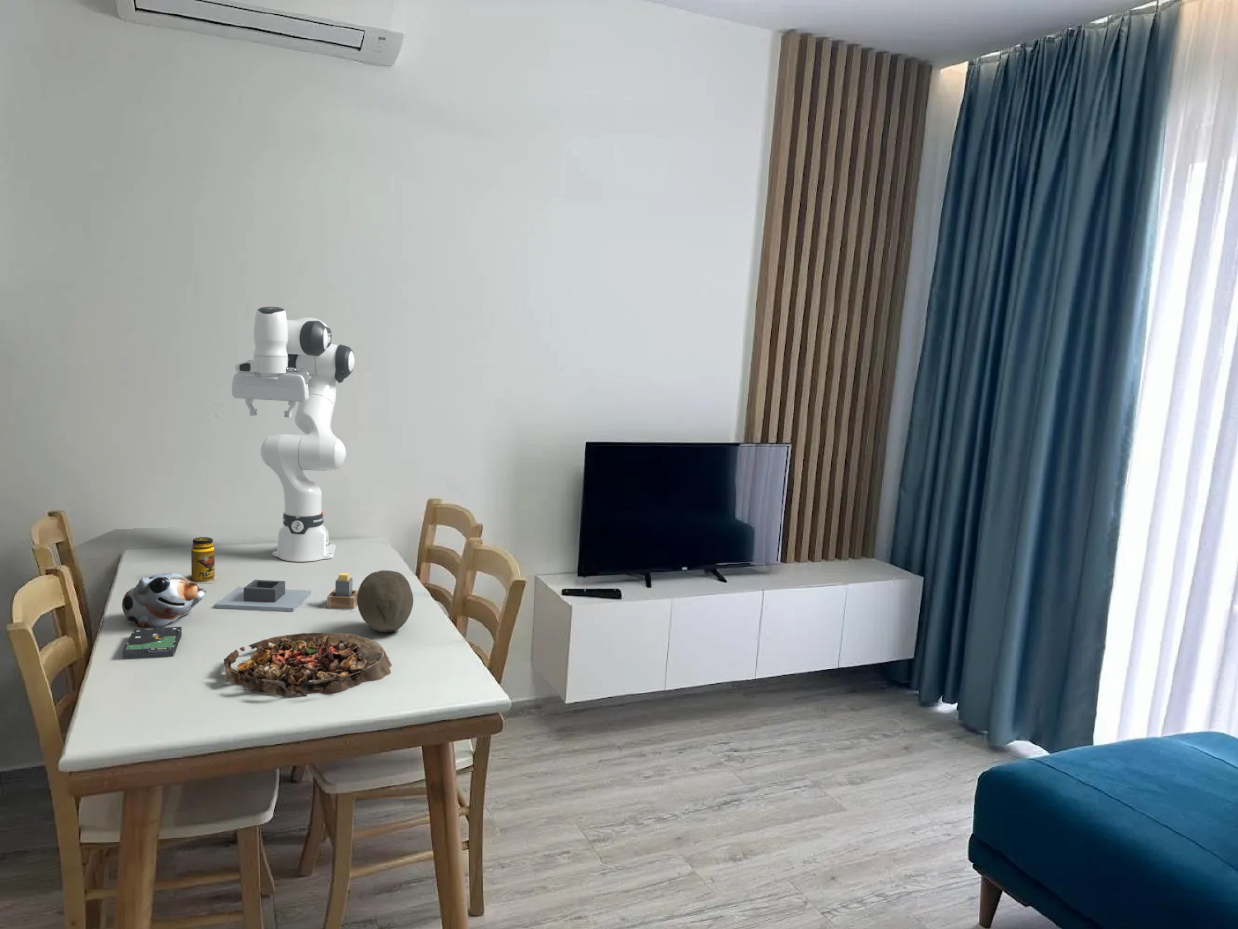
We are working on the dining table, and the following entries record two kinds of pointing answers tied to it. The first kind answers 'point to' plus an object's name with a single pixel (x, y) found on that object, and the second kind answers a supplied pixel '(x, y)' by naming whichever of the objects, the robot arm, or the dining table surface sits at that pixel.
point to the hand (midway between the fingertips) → (270, 416)
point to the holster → (342, 600)
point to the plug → (344, 585)
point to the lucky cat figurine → (161, 599)
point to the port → (264, 597)
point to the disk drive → (152, 643)
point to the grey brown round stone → (385, 600)
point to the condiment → (202, 561)
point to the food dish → (309, 664)
